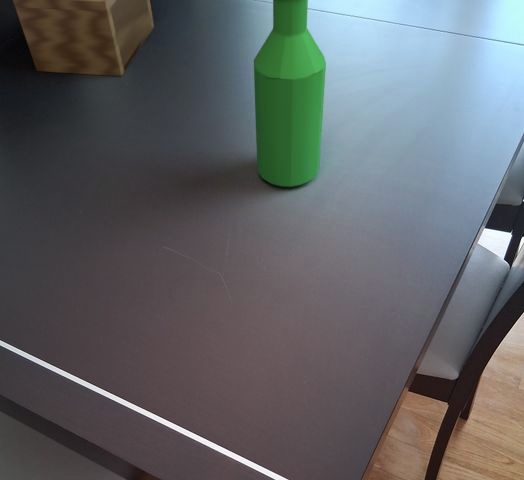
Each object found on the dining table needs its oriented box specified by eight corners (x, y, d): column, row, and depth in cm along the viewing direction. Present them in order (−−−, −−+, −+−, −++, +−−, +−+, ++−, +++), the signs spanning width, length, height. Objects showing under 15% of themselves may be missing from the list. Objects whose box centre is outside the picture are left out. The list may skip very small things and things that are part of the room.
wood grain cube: (36, 71, 102) (11, -3, 92) (77, 22, 114) (59, -47, 104) (121, 76, 100) (105, 1, 90) (154, 26, 112) (142, -44, 102)
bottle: (253, 189, 79) (244, -12, 59) (261, 153, 84) (255, -42, 64) (317, 192, 78) (329, -10, 58) (320, 156, 83) (333, -41, 64)
